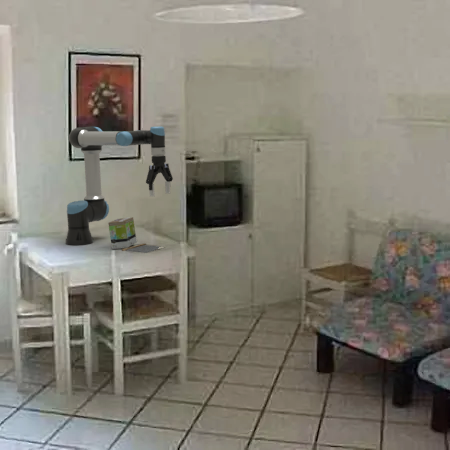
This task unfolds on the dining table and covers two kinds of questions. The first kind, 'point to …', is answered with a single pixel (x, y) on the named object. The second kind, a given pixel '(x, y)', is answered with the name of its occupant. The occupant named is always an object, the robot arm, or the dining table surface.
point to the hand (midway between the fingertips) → (160, 194)
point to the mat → (144, 248)
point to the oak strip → (132, 247)
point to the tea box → (122, 233)
